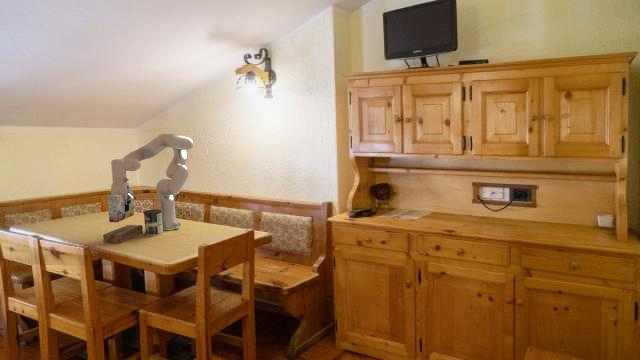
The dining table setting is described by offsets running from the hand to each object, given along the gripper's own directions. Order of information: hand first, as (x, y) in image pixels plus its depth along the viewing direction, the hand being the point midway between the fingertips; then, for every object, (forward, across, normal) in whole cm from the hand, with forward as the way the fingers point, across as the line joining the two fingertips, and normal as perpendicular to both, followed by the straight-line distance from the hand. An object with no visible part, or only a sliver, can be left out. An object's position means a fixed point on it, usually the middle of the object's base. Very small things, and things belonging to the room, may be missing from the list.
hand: (121, 210), depth 265 cm
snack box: (+5, 0, 0) cm, 5 cm away
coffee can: (+16, -13, -11) cm, 24 cm away
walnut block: (+16, 0, 0) cm, 16 cm away
